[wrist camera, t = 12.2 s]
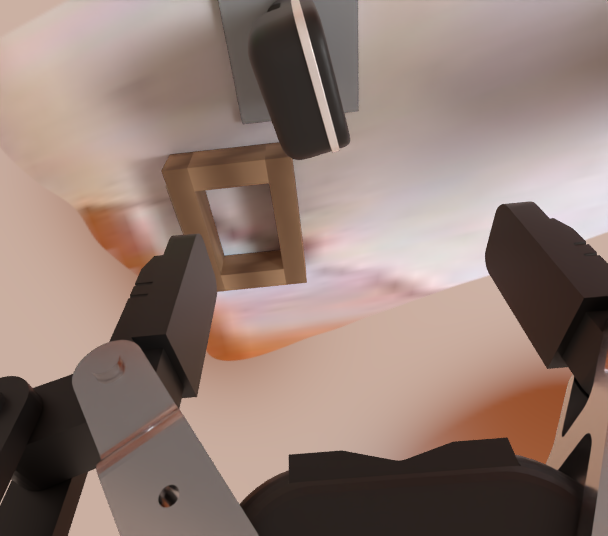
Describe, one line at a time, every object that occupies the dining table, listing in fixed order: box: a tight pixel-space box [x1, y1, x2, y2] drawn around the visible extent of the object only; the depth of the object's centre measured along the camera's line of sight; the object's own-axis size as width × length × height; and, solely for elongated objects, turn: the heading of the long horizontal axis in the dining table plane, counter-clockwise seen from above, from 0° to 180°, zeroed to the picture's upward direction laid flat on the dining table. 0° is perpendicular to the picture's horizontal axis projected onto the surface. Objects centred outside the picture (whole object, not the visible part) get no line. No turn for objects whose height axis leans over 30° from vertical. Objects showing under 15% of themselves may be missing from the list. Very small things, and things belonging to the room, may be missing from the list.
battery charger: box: [248, 0, 350, 160], centre depth 23 cm, size 7×4×11 cm, turn 18°
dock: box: [162, 142, 307, 292], centre depth 35 cm, size 10×13×3 cm
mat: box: [218, 0, 358, 124], centre depth 27 cm, size 9×9×1 cm
